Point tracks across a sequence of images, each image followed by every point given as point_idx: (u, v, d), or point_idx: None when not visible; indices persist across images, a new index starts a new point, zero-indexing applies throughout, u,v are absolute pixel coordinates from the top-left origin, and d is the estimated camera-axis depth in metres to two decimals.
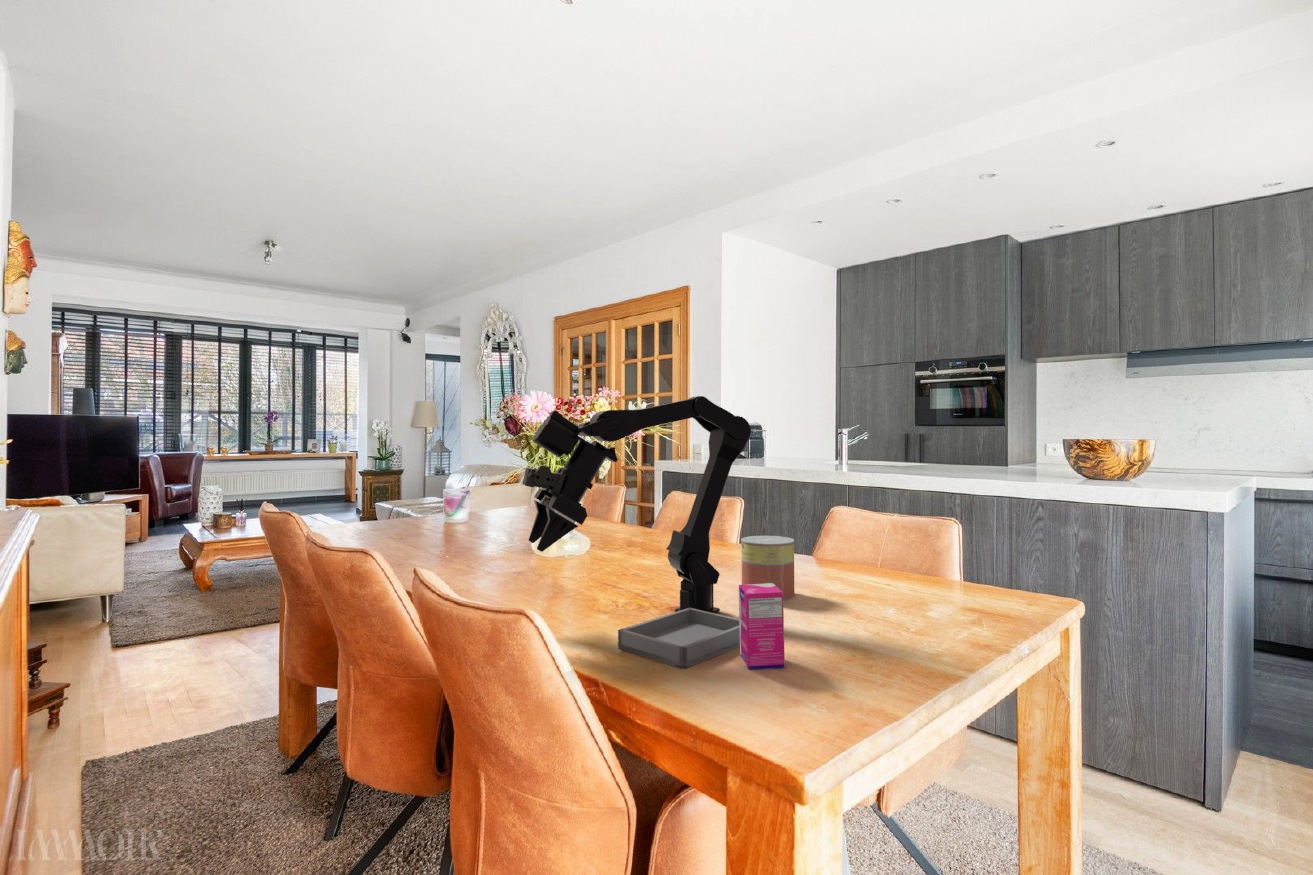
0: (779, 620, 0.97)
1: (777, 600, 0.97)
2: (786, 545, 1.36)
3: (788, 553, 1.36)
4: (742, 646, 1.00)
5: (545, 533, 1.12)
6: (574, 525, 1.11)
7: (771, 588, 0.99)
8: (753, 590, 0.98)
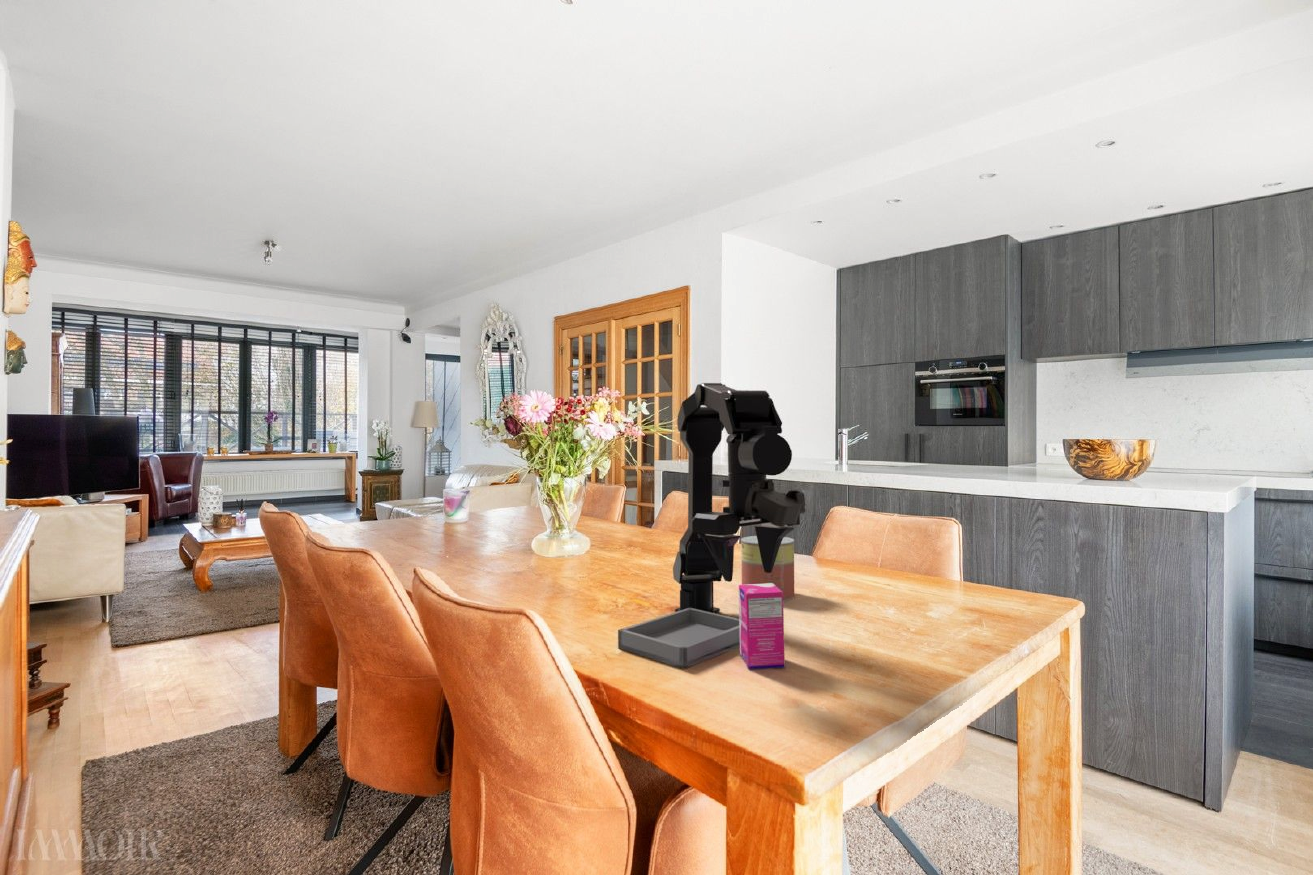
0: (779, 620, 0.97)
1: (777, 600, 0.97)
2: (786, 545, 1.36)
3: (788, 553, 1.36)
4: (742, 646, 1.00)
5: None
6: None
7: (771, 588, 0.99)
8: (753, 590, 0.98)
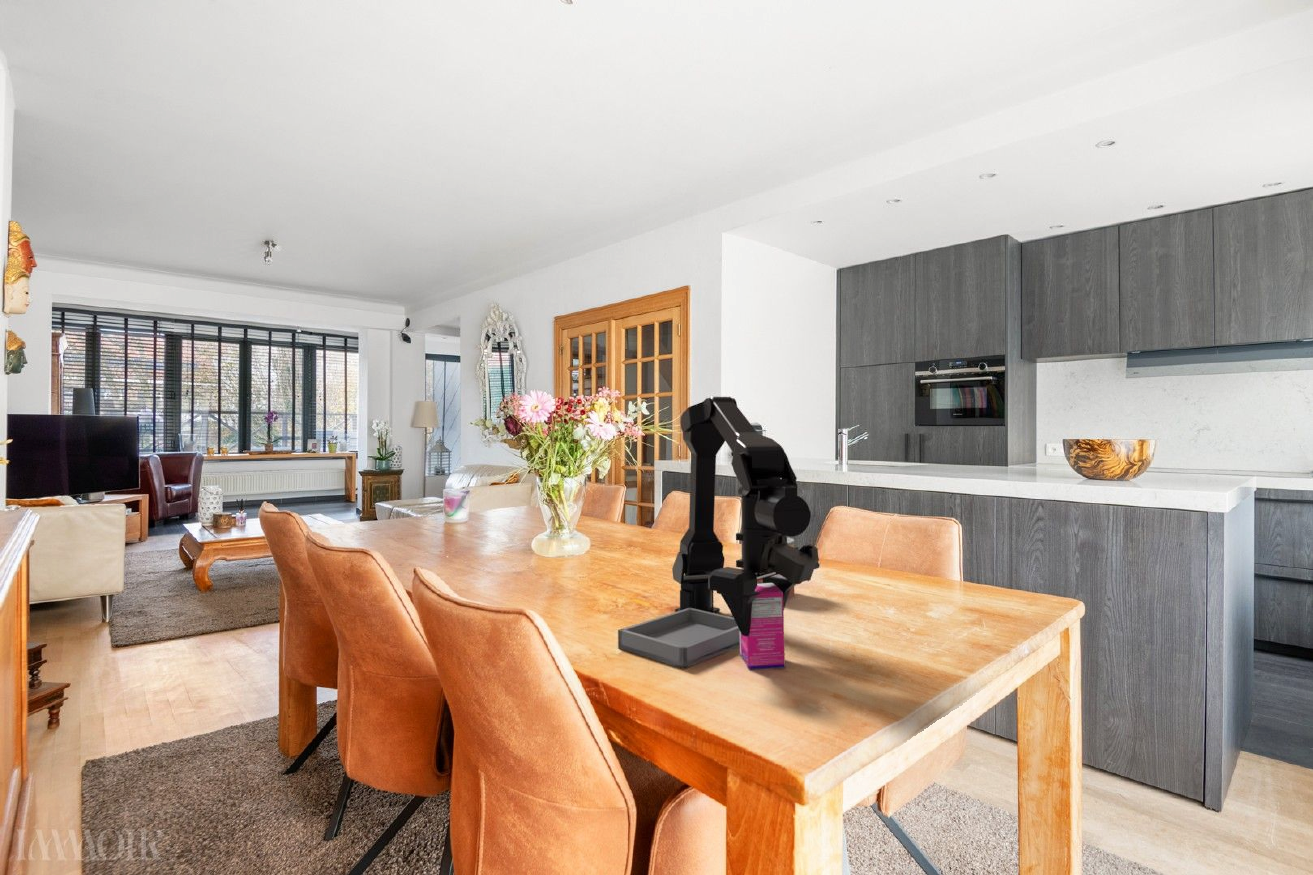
0: (779, 620, 0.97)
1: (777, 600, 0.97)
2: None
3: None
4: (742, 646, 1.00)
5: None
6: None
7: (771, 588, 0.99)
8: None
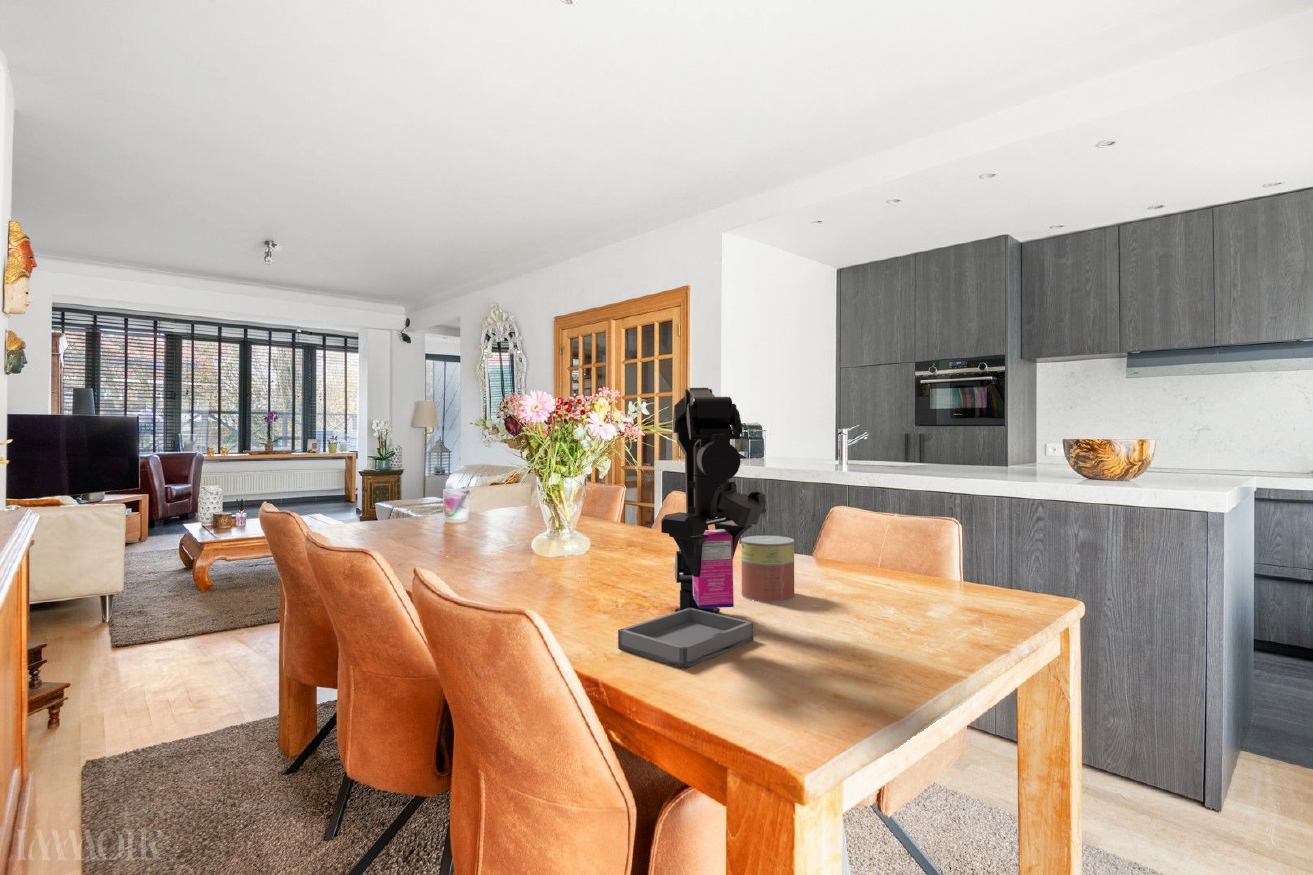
0: (728, 562, 1.03)
1: (727, 543, 1.03)
2: (786, 545, 1.36)
3: (788, 553, 1.36)
4: (694, 588, 1.06)
5: None
6: None
7: (722, 533, 1.05)
8: (704, 534, 1.04)
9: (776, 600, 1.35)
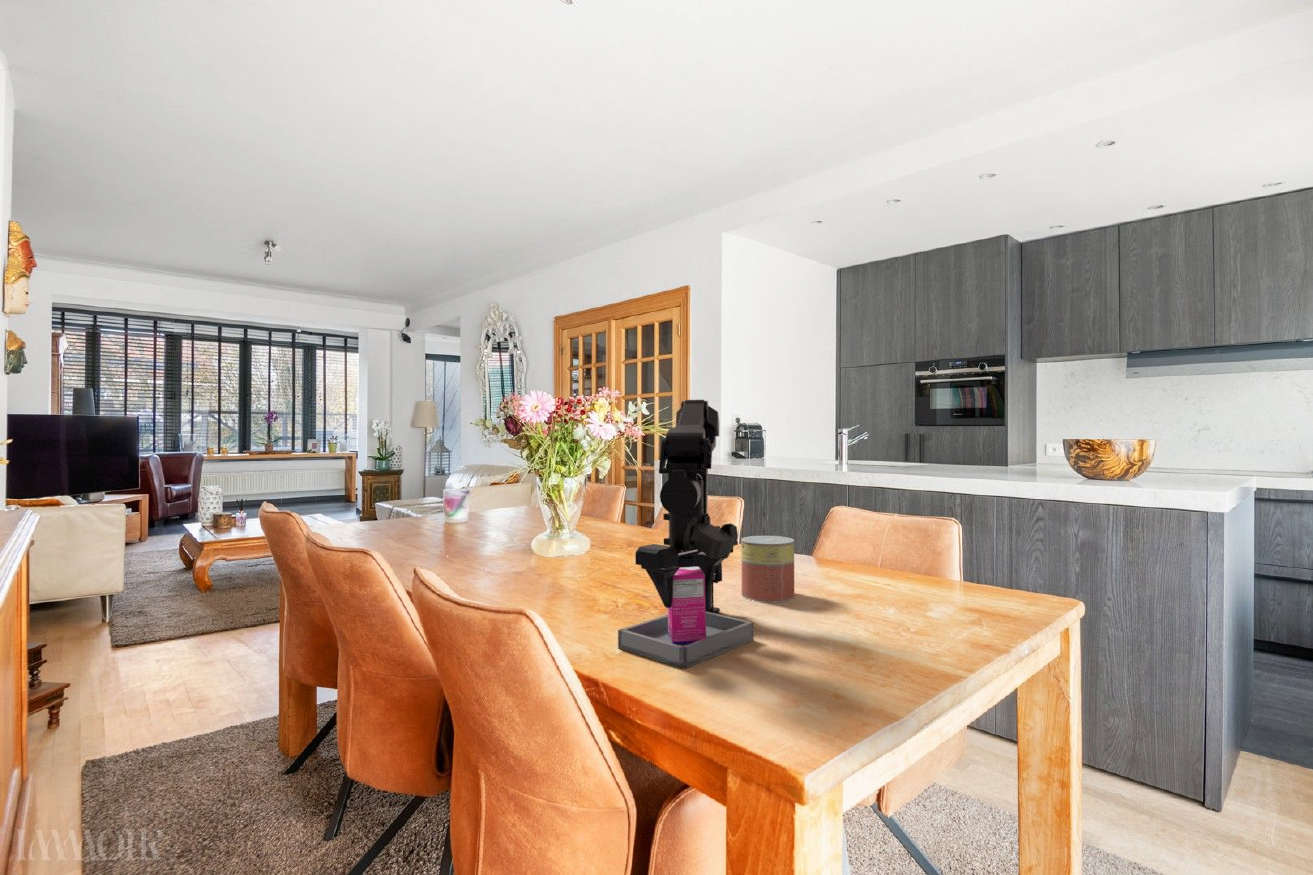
0: (701, 600, 1.06)
1: (699, 582, 1.06)
2: (786, 545, 1.36)
3: (788, 553, 1.36)
4: (669, 624, 1.09)
5: None
6: None
7: (695, 571, 1.08)
8: (677, 572, 1.07)
9: (776, 600, 1.35)
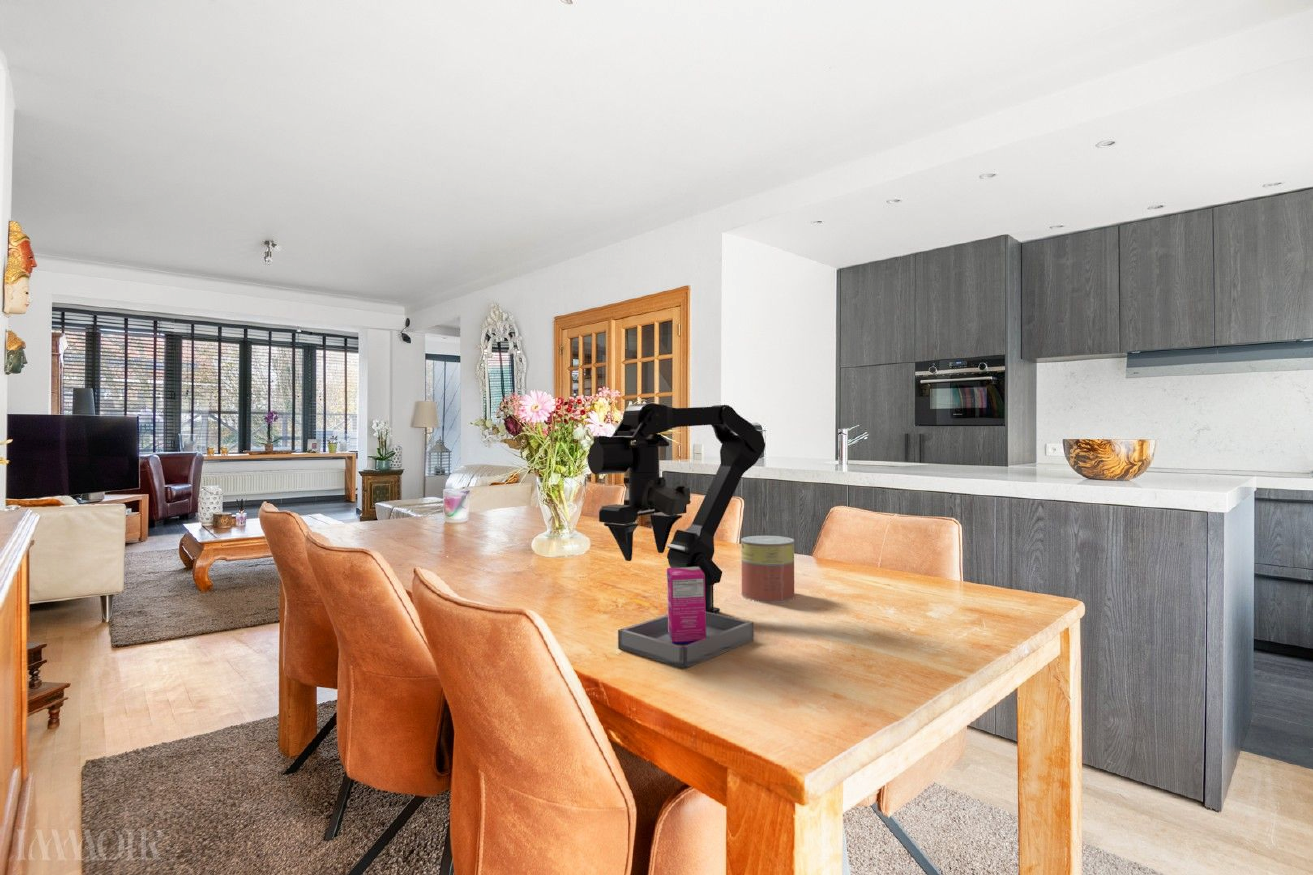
0: (701, 600, 1.06)
1: (699, 582, 1.06)
2: (786, 545, 1.36)
3: (788, 553, 1.36)
4: (669, 624, 1.09)
5: None
6: None
7: (695, 571, 1.08)
8: (677, 572, 1.07)
9: (776, 600, 1.35)
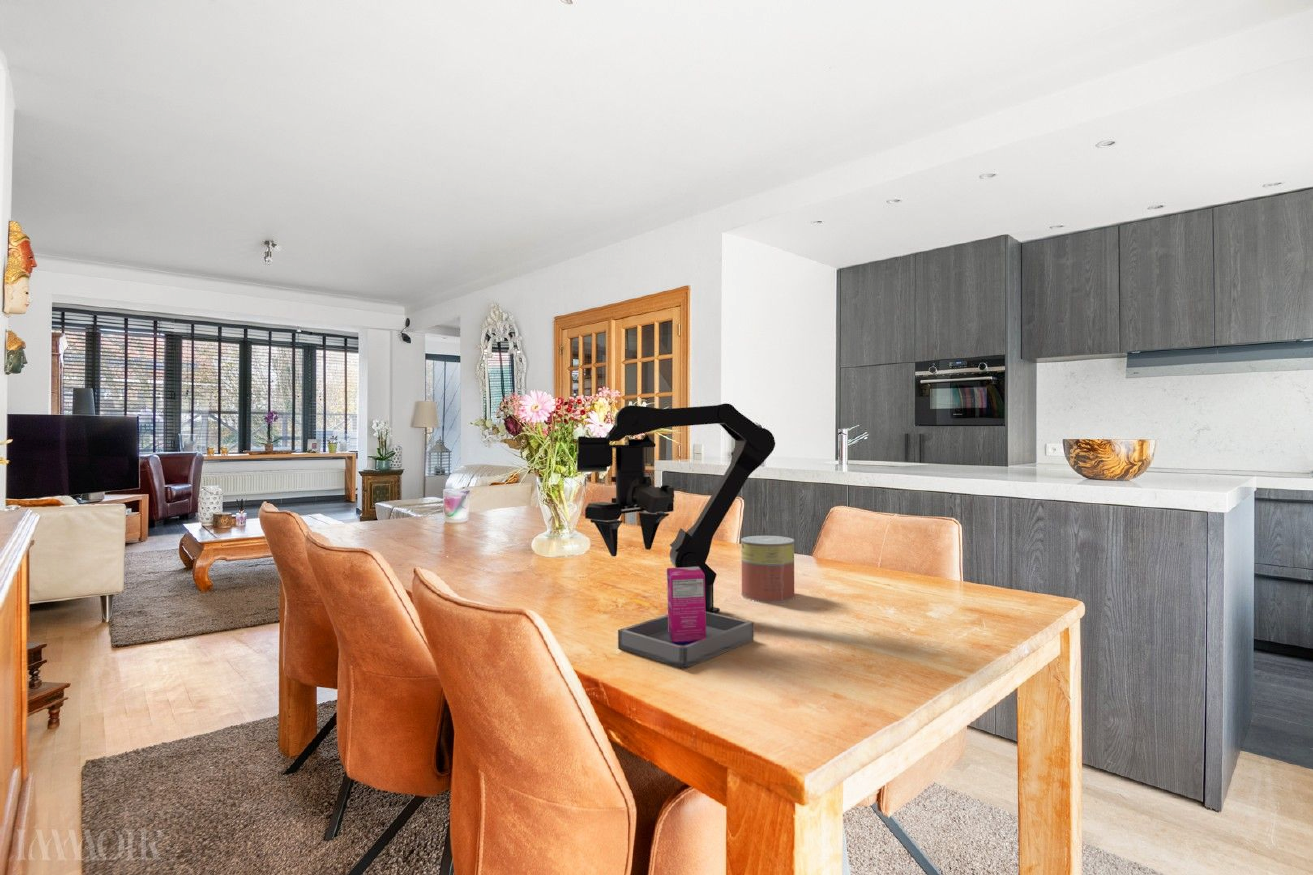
0: (701, 600, 1.06)
1: (699, 582, 1.06)
2: (786, 545, 1.36)
3: (788, 553, 1.36)
4: (669, 624, 1.09)
5: (654, 533, 1.29)
6: None
7: (695, 571, 1.08)
8: (677, 572, 1.07)
9: (776, 600, 1.35)
